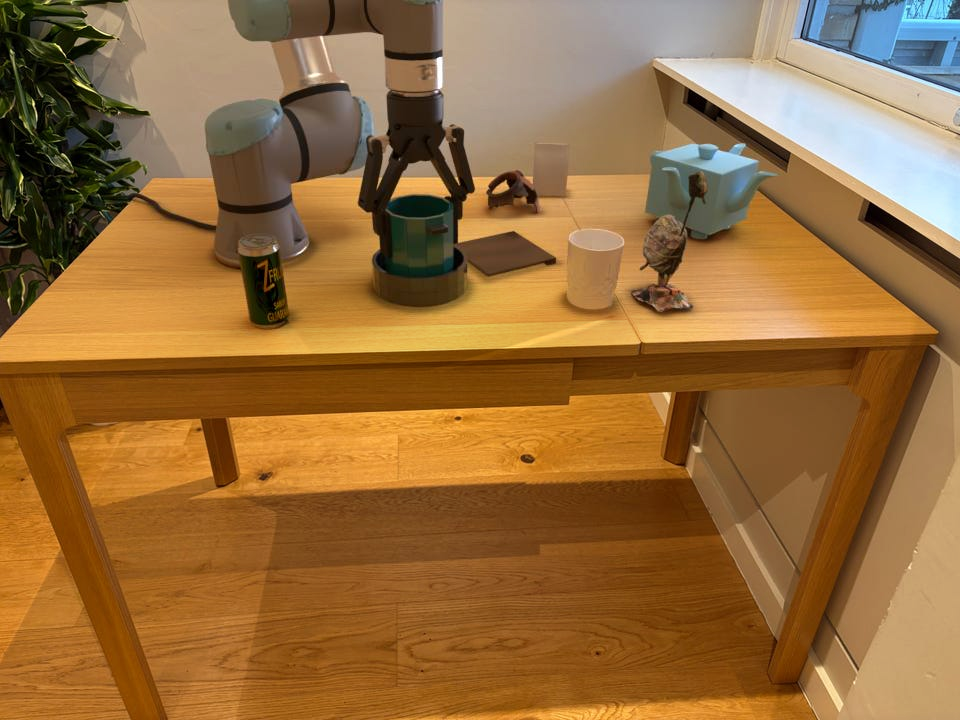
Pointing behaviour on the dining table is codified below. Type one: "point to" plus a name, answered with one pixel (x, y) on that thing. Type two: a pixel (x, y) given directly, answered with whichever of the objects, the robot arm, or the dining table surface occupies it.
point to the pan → (420, 283)
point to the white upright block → (550, 169)
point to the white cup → (593, 267)
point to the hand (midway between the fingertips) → (419, 247)
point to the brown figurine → (668, 253)
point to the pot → (421, 236)
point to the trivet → (504, 253)
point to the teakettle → (725, 178)
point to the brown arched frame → (512, 190)
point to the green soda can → (263, 280)
